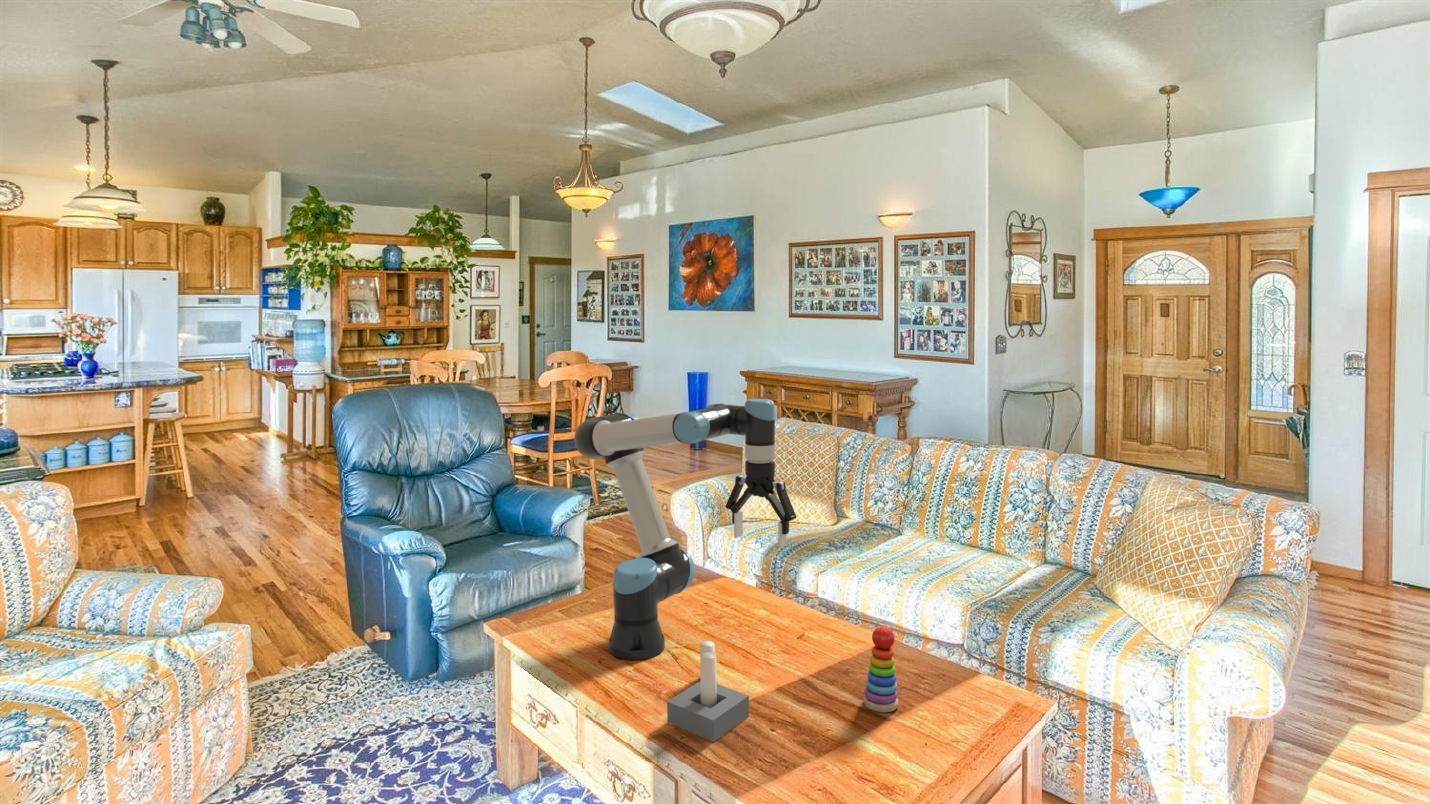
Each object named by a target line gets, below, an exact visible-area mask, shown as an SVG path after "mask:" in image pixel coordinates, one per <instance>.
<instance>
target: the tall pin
mask: <svg viewBox="0 0 1430 804" xmlns="http://www.w3.org/2000/svg"><path fill="white" fill-rule="evenodd" d="M699 655H700V654H699ZM699 657H700V658H699V661H700V662H699V665H700V669H699V670H700V674H699V675H700V681H699V682H700V692H701V705H703V706H706V707H708V708H712V707H713V706H715V705H716V704H717V684H718V683H717V679H718V678H717V669H718V668H717V667H718V666H717V661H718V659H717V654H716V653H715V654H714V653H703V654H701V655H700V656H699Z"/></svg>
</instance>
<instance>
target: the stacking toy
mask: <svg viewBox="0 0 1430 804" xmlns="http://www.w3.org/2000/svg"><path fill="white" fill-rule="evenodd" d="M871 638H872V639H871V641H872V643H873V645H874V646H873V647H872V648H871V655H870V657H869V662H870V663H869V666H868V670H869V671H868V672H867V679H866V683H865V685H866V686H865V687H864V691H863V692H864V695H863V703H864V705H865V706H866V708H868V709H870V710H872V711H874V712H878V713H889V712H893V711H895V710H896V709H897V708H898V707H899V704H900V703H899V699H898V692H897V689H898V684H897V675H896V670H897V669H896V665H895V659H894V657H893V656H894V655H895V649H894V648H893V647H892V646H893V645H894V643H895V640H896V639H895V638H896V637H895V633H894V631H893V630H891V629H890V627H888V626H882V625H881V626H878V627H876V628H875V629H874V630H873V632H872V636H871Z"/></svg>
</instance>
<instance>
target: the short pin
mask: <svg viewBox="0 0 1430 804" xmlns="http://www.w3.org/2000/svg"><path fill="white" fill-rule="evenodd" d="M699 646H700V647H699V651H700V653H699V655H701V654H703V653H714V654H716V648H715V647H716V645H715V642H714V641H711V640H710V641H709V640H704V641H701V642H700V644H699Z"/></svg>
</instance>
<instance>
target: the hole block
mask: <svg viewBox="0 0 1430 804" xmlns="http://www.w3.org/2000/svg"><path fill="white" fill-rule="evenodd" d="M666 710H667V711H666V712H667V713H666V716H667V718H666V719H667V722H669V723H671V724H670V725H672V724H673V725H672V726H674V727H676V726H677V728H679V729H681V730H683V731H686V732H688V733H690V734H692V735H695V736H698V737H700V738H702V739H705V740H707V741H710V742H712V743H715V742H716V741H717V740H719V739H720V738H722V737H723V736H725V734H727V733H729V732H730V731H732V730H733V729H734V728H736V727H737V726H738V725H739V724H741V723H742V722H743V721H745V720H747V719H748V718H749V717H750V695H748V694H745V693H742V692H740V691H737V690H734V689H732V688H729V687H726V686H724V685H721V684H718V683H717V704H716V705H715V706H713V707H712V708H708V707H706V706H703V705H701V692H700V681H698V682H697V683H695V684H693V685H691V686H690V687H689V688H687V689H685V690H684V691H682V692H680V693H679V694H677V695H676V696H673V698H671V699H669V700H667V701H666ZM669 723H668V724H669Z"/></svg>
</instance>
